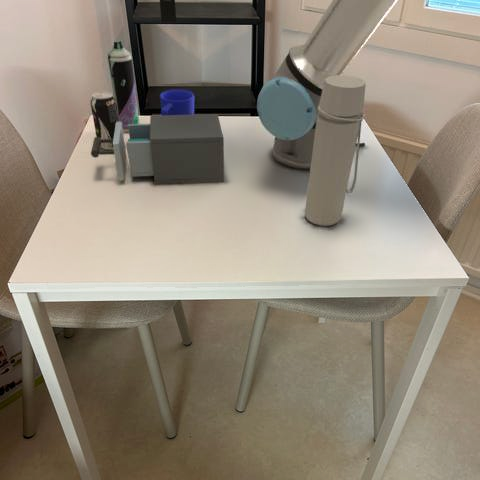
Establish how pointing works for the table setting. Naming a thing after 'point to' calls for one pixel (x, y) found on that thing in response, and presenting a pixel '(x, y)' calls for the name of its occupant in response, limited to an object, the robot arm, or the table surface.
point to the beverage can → (104, 116)
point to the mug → (177, 102)
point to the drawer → (129, 150)
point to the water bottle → (334, 148)
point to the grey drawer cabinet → (187, 148)
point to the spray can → (123, 85)
